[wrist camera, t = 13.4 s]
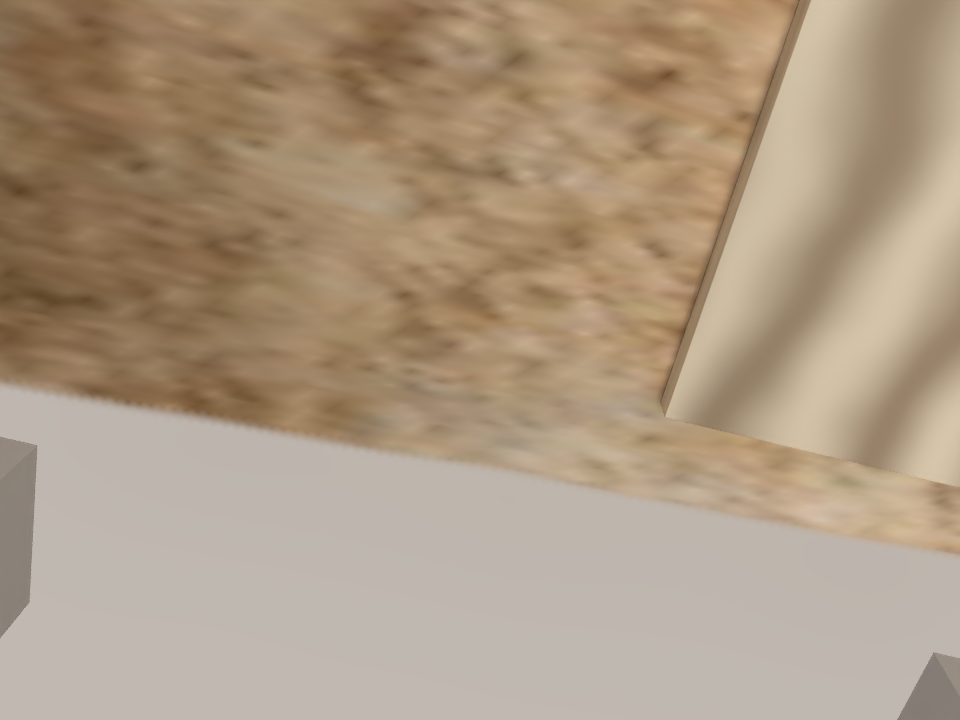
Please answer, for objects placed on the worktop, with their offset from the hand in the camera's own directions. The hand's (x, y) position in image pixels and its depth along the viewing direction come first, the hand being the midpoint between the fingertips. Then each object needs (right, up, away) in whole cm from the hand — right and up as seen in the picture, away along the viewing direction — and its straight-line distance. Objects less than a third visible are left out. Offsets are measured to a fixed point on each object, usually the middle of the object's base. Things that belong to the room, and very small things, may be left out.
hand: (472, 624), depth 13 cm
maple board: (+20, +8, +24) cm, 33 cm away
